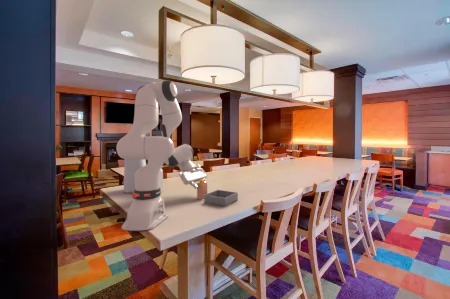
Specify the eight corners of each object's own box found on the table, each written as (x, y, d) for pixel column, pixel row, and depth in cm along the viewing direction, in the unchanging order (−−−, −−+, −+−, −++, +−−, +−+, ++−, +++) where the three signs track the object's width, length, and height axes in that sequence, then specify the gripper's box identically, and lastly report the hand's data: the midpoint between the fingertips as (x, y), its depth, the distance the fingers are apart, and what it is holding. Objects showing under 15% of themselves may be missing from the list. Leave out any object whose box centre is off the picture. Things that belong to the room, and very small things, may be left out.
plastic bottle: (149, 187, 173) (148, 150, 171) (145, 192, 158) (143, 152, 156) (128, 188, 171) (126, 150, 169) (122, 193, 156) (120, 152, 154)
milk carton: (148, 192, 157) (147, 165, 156) (155, 190, 164) (154, 163, 163) (156, 193, 154) (155, 165, 153) (163, 191, 161) (162, 164, 159)
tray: (225, 206, 126) (225, 198, 126) (204, 202, 134) (204, 194, 133) (237, 200, 138) (237, 192, 138) (217, 196, 146) (217, 189, 145)
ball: (204, 183, 141) (203, 178, 142) (199, 184, 141) (198, 179, 142) (204, 183, 144) (204, 178, 145) (200, 184, 144) (199, 179, 145)
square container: (197, 198, 143) (196, 183, 142) (201, 196, 146) (201, 181, 146) (203, 199, 140) (202, 184, 140) (207, 197, 144) (207, 182, 143)
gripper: (180, 168, 137) (193, 186, 133) (201, 164, 155) (213, 180, 150) (174, 175, 140) (187, 193, 136) (196, 170, 157) (208, 186, 153)
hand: (201, 186), depth 143 cm, fingers open, 8 cm apart
